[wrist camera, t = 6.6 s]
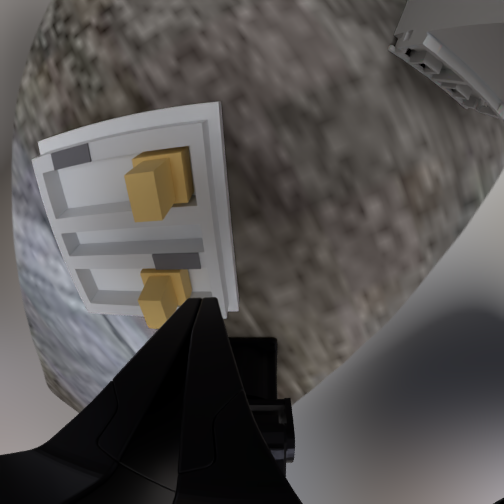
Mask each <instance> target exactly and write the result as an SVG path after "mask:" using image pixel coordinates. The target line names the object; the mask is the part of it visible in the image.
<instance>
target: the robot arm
mask: <svg viewBox="0 0 504 504" xmlns="http://www.w3.org/2000/svg"><path fill="white" fill-rule="evenodd" d="M294 451H295V434H294V424H293V416H292V407H291V399H290V398H284V399H277V340H276V339H274V338H262V339H229V338H228V335H227V331H226V328H225V324H224V320H223V317H222V313H221V310H220V306H219V302H218V299H217V298H216V297H204V298H203V299H202V298H200V297H199V298H188V299H187V300H186V301H185V302H184V303H183V304H182V305H181V306H180V307H179V308H178V309H177V310H176V311H175V312H174V313H173V314H172V316H171V317H170V318H169V319H168V320H167V321H166V322H165V323H164V324H163V325H162V326H161V327H160V328H159V329H158V331H157V332H156V333H155V334H154V335H153V336H152V337H151V338H150V339H149V340H148V341H147V342H146V343H145V345H144V346H143V347H142V348H141V349H140V350H139V351H138V352H137V353H136V354H135V355H134V356H133V358H132V359H131V360H130V361H129V362H128V363H127V364H126V365H125V366H124V367H123V368H122V370H121V371H120V372H119V373H118V374H117V375H116V376H115V377H114V378H113V381H110V382H109V384H108V385H107V386H106V387H105V388H104V389H103V390H102V391H101V392H100V393H99V394H98V395H97V396H96V398H95V399H94V400H93V401H92V402H91V403H90V404H89V405H88V406H86V407H85V408H84V409H83V410H82V411H81V412H80V413H79V414H78V415H77V416H76V417H75V418H74V419H72V420H71V421H70V422H69V423H68V424H67V425H66V426H65V427H63V428H62V429H61V430H60V431H59V432H58V433H57V434H56V435H54V436H53V437H52V438H51V439H50V440H49V441H47V442H46V443H44V444H43V445H41V446H39V447H37V448H34V449H32V450H27V451H22V452H16V453H11V454H5V455H0V504H303V503H302V502H301V501H300V499H299V498H298V496H297V495H296V493H295V492H294V491H293V489H292V487H291V485H290V484H289V482H288V480H287V479H286V463H292V462H293V460H294V453H295V452H294ZM494 504H504V498H502V499H501V500H499V501H497V502H495V503H494Z"/></svg>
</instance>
